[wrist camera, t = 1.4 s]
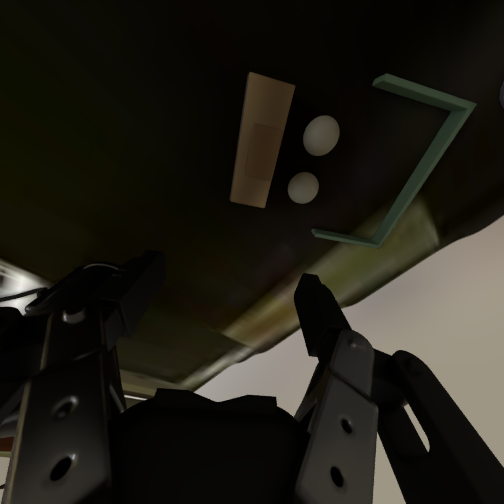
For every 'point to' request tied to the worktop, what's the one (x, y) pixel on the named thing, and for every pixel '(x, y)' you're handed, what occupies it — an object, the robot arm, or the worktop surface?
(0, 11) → the worktop surface
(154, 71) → the worktop surface
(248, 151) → the brown t-shaped block
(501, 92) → the aerosol can
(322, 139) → the paper ball
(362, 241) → the corral
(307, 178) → the paper ball
